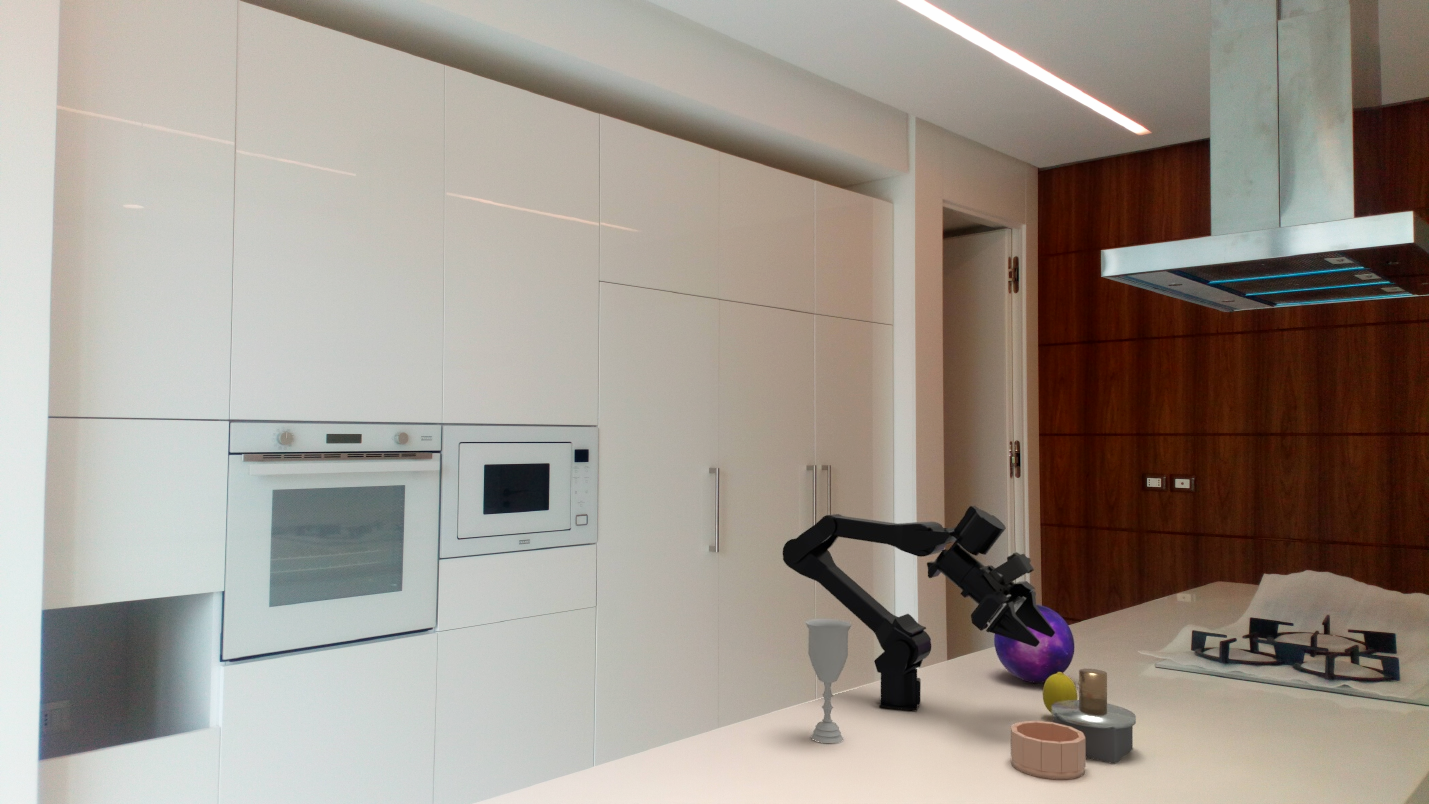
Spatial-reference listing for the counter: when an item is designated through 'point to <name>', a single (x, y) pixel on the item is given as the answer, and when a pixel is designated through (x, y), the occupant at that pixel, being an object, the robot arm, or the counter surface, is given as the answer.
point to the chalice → (828, 667)
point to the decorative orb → (1038, 651)
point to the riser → (1104, 741)
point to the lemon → (1058, 690)
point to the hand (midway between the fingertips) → (1046, 639)
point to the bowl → (1047, 750)
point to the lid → (1093, 705)
